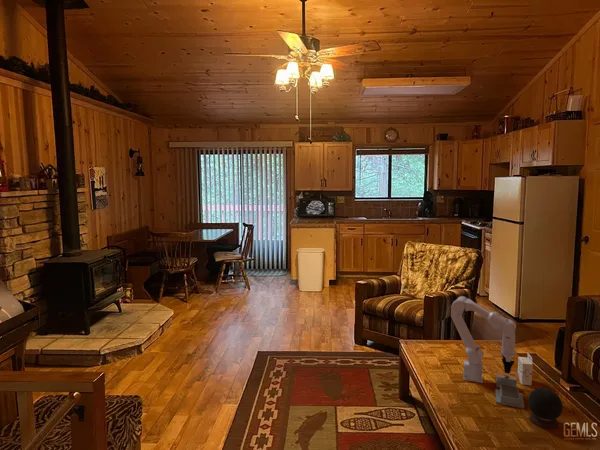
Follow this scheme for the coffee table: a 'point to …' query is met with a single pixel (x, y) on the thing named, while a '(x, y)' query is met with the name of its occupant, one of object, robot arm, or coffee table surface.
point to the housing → (505, 380)
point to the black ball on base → (545, 408)
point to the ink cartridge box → (525, 370)
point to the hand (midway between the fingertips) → (506, 369)
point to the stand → (509, 396)
